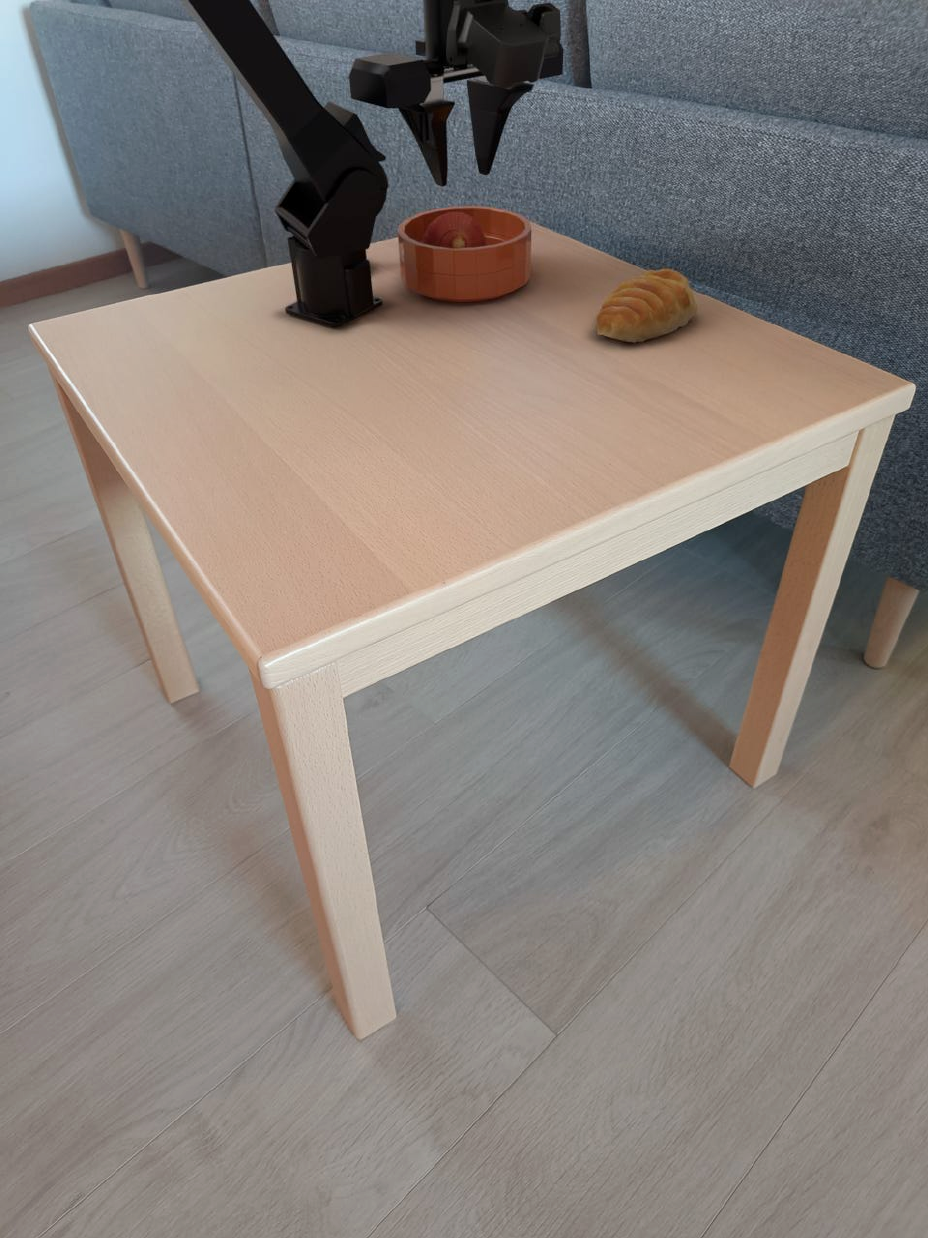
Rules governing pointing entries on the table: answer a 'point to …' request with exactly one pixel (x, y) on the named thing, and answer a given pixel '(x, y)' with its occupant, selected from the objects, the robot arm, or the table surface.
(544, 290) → the table surface
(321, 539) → the table surface
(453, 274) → the bowl
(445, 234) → the onion
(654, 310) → the pastry
